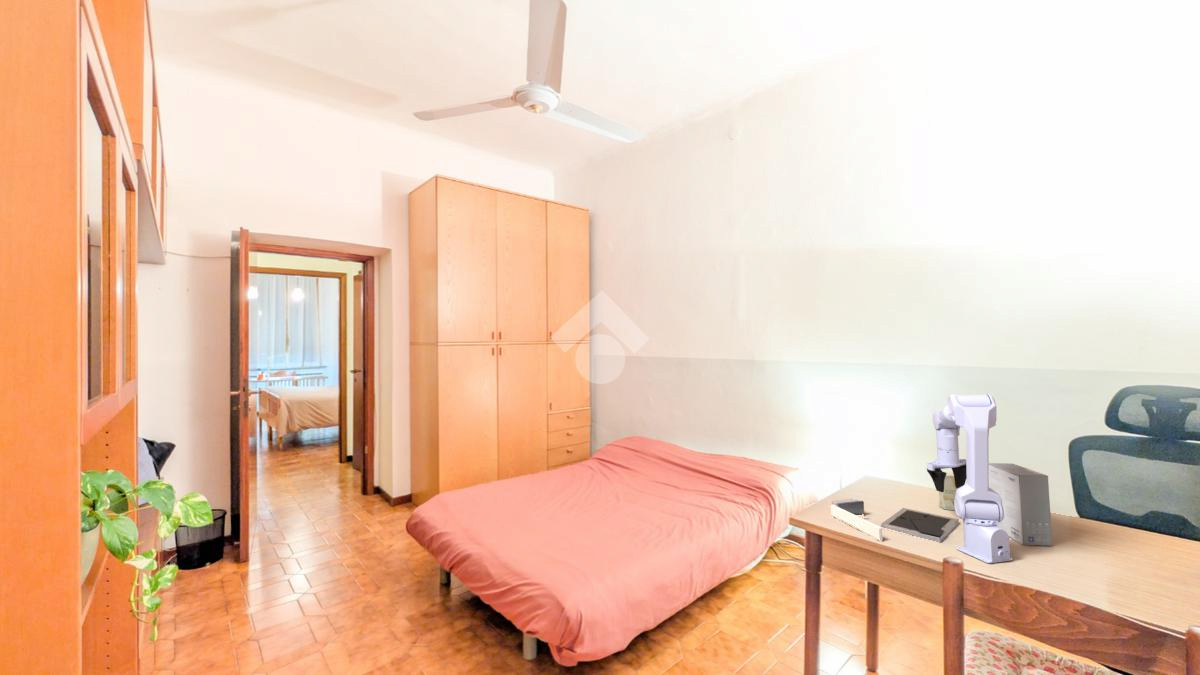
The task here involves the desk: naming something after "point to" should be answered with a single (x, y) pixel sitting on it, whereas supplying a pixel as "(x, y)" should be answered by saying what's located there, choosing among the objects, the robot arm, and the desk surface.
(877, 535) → the shelf wall
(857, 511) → the bookend
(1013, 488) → the hard drive box
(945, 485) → the skincare box
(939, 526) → the picture frame
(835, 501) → the orange and blue block
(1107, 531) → the desk surface
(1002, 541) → the robot arm
